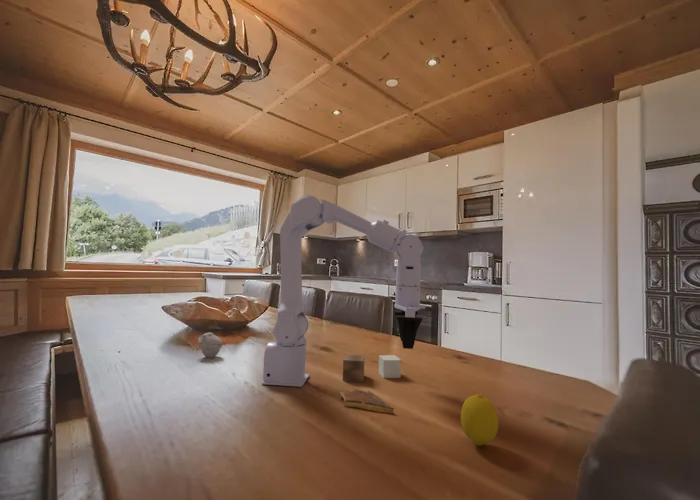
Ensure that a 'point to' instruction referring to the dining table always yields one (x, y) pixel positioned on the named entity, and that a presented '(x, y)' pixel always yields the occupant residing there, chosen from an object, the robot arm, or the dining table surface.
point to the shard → (365, 400)
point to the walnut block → (353, 368)
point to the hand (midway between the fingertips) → (406, 344)
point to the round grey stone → (209, 344)
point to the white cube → (389, 366)
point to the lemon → (479, 419)
